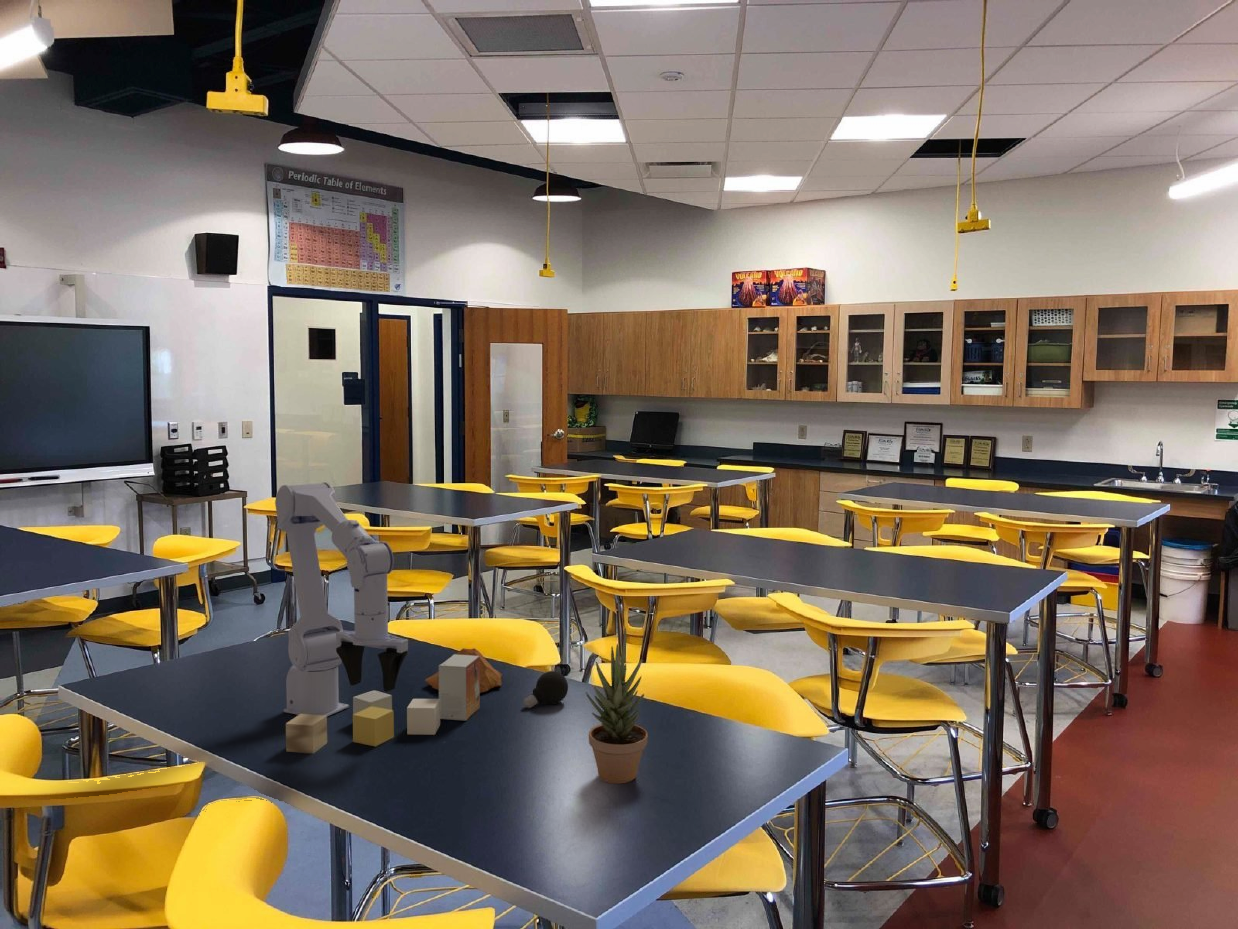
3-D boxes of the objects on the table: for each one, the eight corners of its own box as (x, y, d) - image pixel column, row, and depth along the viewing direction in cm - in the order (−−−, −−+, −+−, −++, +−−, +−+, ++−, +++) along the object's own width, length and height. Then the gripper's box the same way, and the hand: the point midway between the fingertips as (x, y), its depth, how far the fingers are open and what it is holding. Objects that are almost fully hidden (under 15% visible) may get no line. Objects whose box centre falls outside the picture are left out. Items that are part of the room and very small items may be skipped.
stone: (513, 691, 205) (519, 655, 200) (469, 727, 193) (474, 690, 188) (460, 658, 211) (465, 623, 206) (414, 691, 199) (418, 654, 194)
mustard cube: (353, 742, 169) (352, 714, 168) (371, 733, 173) (371, 706, 173) (375, 747, 167) (375, 719, 166) (393, 737, 171) (393, 710, 171)
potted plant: (627, 793, 148) (629, 638, 146) (577, 780, 153) (578, 629, 151) (659, 772, 157) (661, 624, 155) (610, 759, 162) (611, 616, 160)
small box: (466, 722, 179) (465, 667, 178) (438, 719, 180) (437, 665, 179) (480, 707, 187) (480, 655, 186) (453, 705, 188) (453, 653, 187)
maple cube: (286, 751, 164) (285, 723, 164) (301, 741, 169) (300, 713, 168) (313, 754, 163) (312, 725, 163) (327, 743, 168) (326, 715, 168)
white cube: (407, 734, 172) (407, 708, 172) (413, 724, 177) (413, 698, 177) (434, 735, 172) (434, 708, 172) (440, 725, 177) (439, 699, 177)
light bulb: (512, 686, 187) (552, 660, 192) (518, 710, 190) (558, 684, 195) (530, 700, 183) (571, 673, 188) (536, 725, 185) (576, 698, 191)
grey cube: (353, 723, 178) (352, 697, 178) (374, 715, 182) (373, 690, 182) (371, 728, 175) (370, 702, 175) (392, 721, 179) (391, 695, 179)
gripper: (323, 612, 168) (324, 687, 169) (389, 621, 161) (390, 699, 163) (350, 604, 174) (351, 676, 175) (415, 612, 168) (416, 687, 169)
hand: (372, 686), depth 169 cm, fingers open, 7 cm apart
